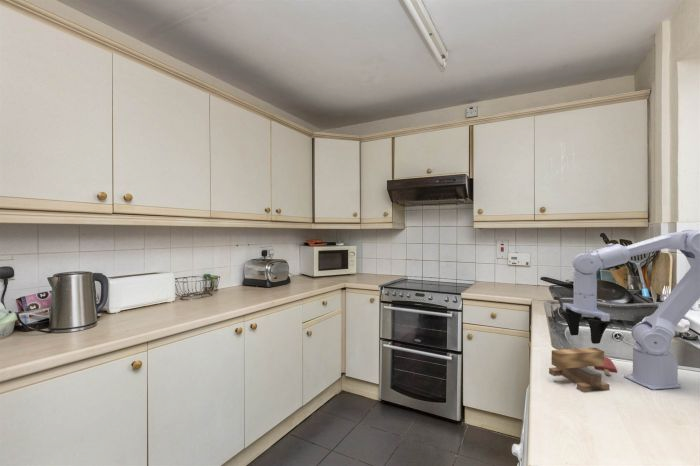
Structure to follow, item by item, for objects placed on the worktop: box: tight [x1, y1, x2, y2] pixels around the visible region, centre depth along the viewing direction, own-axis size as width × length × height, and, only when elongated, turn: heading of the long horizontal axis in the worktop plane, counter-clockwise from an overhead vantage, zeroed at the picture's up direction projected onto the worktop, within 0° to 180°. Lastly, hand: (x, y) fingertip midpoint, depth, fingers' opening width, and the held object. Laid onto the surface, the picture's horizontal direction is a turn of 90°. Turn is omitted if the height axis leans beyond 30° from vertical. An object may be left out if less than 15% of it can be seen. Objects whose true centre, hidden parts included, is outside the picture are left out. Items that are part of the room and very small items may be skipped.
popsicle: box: [593, 356, 618, 377], centre depth 104 cm, size 5×2×15 cm
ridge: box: [548, 366, 611, 393], centre depth 94 cm, size 8×12×4 cm, turn 9°
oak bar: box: [551, 347, 605, 369], centre depth 94 cm, size 14×3×4 cm, turn 99°
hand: (584, 338), depth 100 cm, fingers open, 7 cm apart
